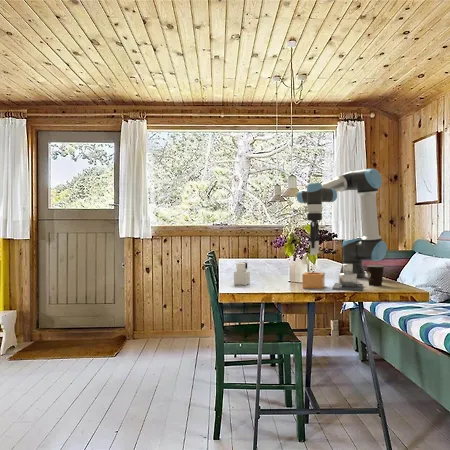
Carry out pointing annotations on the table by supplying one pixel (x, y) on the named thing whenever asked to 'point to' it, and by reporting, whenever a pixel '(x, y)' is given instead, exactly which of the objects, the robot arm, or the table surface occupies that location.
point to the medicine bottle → (241, 274)
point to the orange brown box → (313, 280)
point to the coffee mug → (375, 275)
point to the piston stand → (347, 280)
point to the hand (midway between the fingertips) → (314, 254)
